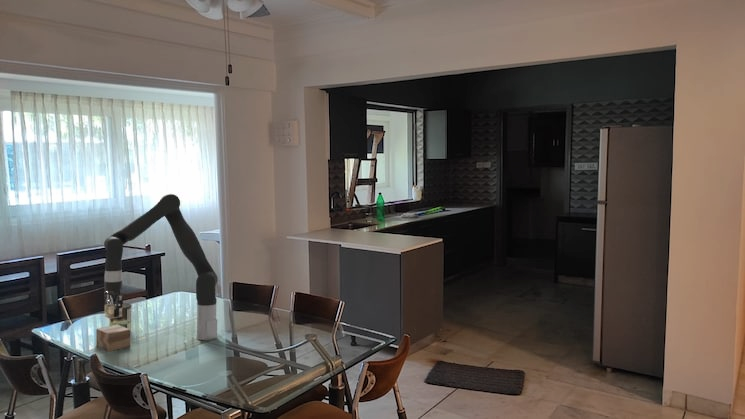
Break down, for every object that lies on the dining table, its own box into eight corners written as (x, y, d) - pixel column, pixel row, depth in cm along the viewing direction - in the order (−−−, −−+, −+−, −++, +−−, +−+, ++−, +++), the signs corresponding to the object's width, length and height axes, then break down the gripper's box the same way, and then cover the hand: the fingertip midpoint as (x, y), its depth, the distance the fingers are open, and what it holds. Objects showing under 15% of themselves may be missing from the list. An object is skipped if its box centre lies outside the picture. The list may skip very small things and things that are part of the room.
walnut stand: (130, 346, 254) (130, 329, 254) (108, 351, 247) (108, 334, 246) (117, 340, 262) (117, 324, 261) (96, 345, 254) (96, 328, 253)
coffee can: (118, 337, 267) (118, 309, 266) (104, 333, 272) (104, 306, 271) (136, 332, 276) (136, 304, 275) (122, 328, 281) (122, 302, 280)
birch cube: (122, 316, 254) (122, 305, 253) (110, 318, 249) (110, 307, 249) (116, 314, 257) (116, 302, 257) (104, 316, 253) (104, 304, 253)
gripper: (129, 281, 251) (128, 317, 252) (113, 276, 260) (113, 311, 261) (112, 283, 245) (112, 320, 246) (97, 278, 254) (97, 314, 255)
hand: (113, 315), depth 253 cm, fingers closed on birch cube, 5 cm apart
